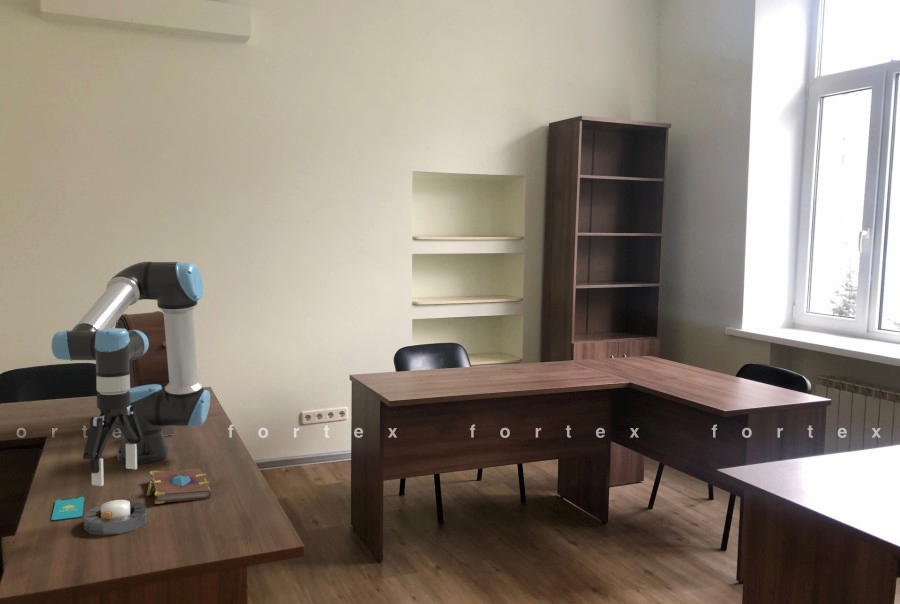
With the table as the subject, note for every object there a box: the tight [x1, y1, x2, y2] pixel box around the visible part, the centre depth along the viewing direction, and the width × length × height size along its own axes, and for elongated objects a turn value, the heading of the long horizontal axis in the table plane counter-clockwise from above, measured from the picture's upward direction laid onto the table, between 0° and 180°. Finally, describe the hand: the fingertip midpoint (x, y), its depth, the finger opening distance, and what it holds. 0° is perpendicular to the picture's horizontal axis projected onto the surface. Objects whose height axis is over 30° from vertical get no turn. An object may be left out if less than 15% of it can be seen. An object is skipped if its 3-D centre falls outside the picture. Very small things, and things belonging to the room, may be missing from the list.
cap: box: [100, 499, 131, 519], centre depth 181 cm, size 8×7×5 cm
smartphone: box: [50, 496, 86, 522], centre depth 190 cm, size 7×1×15 cm
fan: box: [114, 310, 175, 435], centre depth 268 cm, size 41×18×44 cm, turn 34°
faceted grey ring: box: [83, 501, 148, 536], centre depth 181 cm, size 14×14×3 cm
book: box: [146, 468, 212, 505], centre depth 207 cm, size 16×25×5 cm, turn 26°
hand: (115, 476), depth 180 cm, fingers open, 12 cm apart
